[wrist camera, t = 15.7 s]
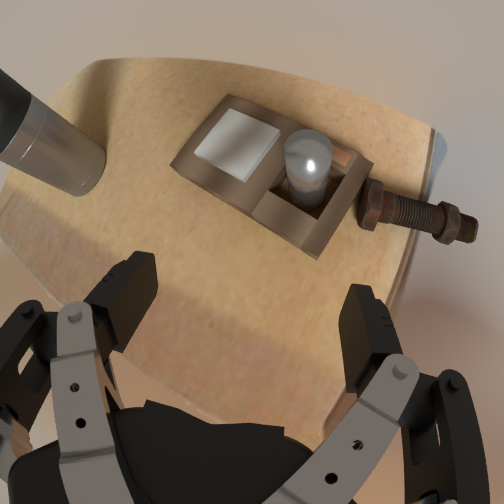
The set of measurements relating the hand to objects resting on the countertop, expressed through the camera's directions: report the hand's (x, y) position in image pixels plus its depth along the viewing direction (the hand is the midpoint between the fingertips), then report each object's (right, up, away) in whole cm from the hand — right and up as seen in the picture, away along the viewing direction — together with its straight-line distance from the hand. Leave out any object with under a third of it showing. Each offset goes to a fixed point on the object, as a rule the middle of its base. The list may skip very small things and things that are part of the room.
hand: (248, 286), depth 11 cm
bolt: (+19, +5, +17) cm, 26 cm away
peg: (+6, +8, +20) cm, 22 cm away
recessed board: (+2, +11, +21) cm, 24 cm away
